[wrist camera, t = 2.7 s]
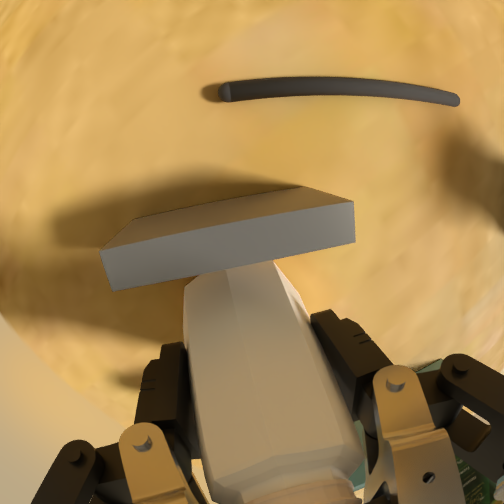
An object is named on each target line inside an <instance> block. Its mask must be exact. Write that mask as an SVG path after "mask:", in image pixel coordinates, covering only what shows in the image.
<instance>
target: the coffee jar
mask: <svg viewBox="0 0 504 504" xmlns="http://www.w3.org/2000/svg"><path fill="white" fill-rule="evenodd" d="M454 455H455V454H454ZM455 459H456V462H457V466H458V470H459V474H460V478H461V483H462V487H463V492H464V497H465V502H466V504H504V503H503V501H502V500H499V501H498V500H495V498H494V492H495V490H496V483H494V482H493V481H491V480H490V479H488V478H487V477H485V476H484V475H483V474H481V473H480V472H478V471H477V470H476V469H474V468H473V467H471V466H470V465H469V464H467V463H466V462H464V461H463V460H462V459H460V458H459V457H458V456H456V455H455Z"/></svg>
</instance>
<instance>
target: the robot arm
mask: <svg viewBox="0 0 504 504" xmlns="http://www.w3.org/2000/svg"><path fill="white" fill-rule="evenodd" d="M310 323H311V325H312V327H313V329H314V331H315V333H316V335H317V337H318V339H319V341H320V343H321V345H322V348H323V350H324V352H325V355H326V357H327V359H328V362H329V364H330V366H331V369H332V371H333V374H334V376H335V378H336V381H337V383H338V386H339V388H340V390H341V393H342V395H343V398H344V400H345V403H346V405H347V407H348V410H349V412H350V415H351V417H352V420H353V422H355V421H358V420H360V422H361V424H362V425H363V429H362V440H363V450H364V454H365V459H364V461H365V476H366V480H365V487H364V504H466V502H465V497H464V492H463V487H462V483H461V478H460V474H459V470H458V466H457V462H456V459H455V455H456V456H458V457H459V458H460V459H462V460H463V461H464V462H466V463H467V464H469V465H470V466H471V467H473V468H474V469H476V470H477V471H478V472H480V473H481V474H483V475H484V476H485V477H487V478H488V479H490V480H491V481H493V482H494V483H496V490H495V492H494V498H495V500H498V501H499V500H502V501H503V503H504V375H502V374H500V373H499V372H497V371H495V370H493V369H491V368H490V367H488V366H486V365H484V364H483V363H481V362H479V361H477V360H475V359H474V358H472V357H470V356H468V355H465V354H452V355H449V356H447V357H446V358H445V359H444V360H443V361H442V363H441V366H440V369H438V370H433V371H428V372H423V373H415V372H414V371H413V370H411V369H410V368H408V367H405V366H402V365H393V363H392V362H391V361H390V360H389V359H388V358H387V356H386V355H385V354H384V353H383V352H382V351H381V349H380V348H379V347H378V346H377V345H376V344H375V343H374V341H373V340H371V338H370V337H369V336H368V334H366V333H365V331H364V330H363V329H362V328H361V327H360V325H359V324H358V323H356V322H354V321H352V320H350V319H348V318H345V319H342V320H340V319H339V318H338V317H337V315H336V314H335V313H334V312H333V311H332V310H331V309H328V310H325V311H321V312H317V313H314V314H311V316H310ZM140 390H141V392H140V393H139V398H138V404H137V409H136V415H135V421H134V425H132V426H130V427H128V428H127V429H126V430H125V431H124V432H123V433H122V434H121V436H120V439H119V442H117V443H115V444H111V445H108V446H104V447H100V448H96V449H95V448H94V447H93V446H92V445H91V444H90V443H88V442H87V441H84V440H73V441H71V442H69V443H67V444H66V445H64V447H63V448H62V449H61V450H60V452H59V454H58V456H57V457H56V459H55V461H54V463H53V464H52V466H51V468H50V469H49V471H48V473H47V475H46V477H45V478H44V480H43V482H42V484H41V486H40V487H39V489H38V491H37V493H36V495H35V497H34V499H33V500H32V502H31V504H209V502H208V500H207V498H206V497H205V495H204V493H203V491H202V489H201V487H200V485H199V483H198V481H197V480H196V477H195V475H194V474H193V472H192V465H191V459H201V455H200V450H199V445H198V439H197V433H196V428H195V421H194V415H193V409H192V402H191V394H190V383H189V372H188V360H187V351H186V348H185V346H184V343H183V342H176V343H170V344H163V345H162V347H161V352H160V358H159V359H155V360H151V361H150V362H149V364H148V365H147V367H146V368H145V369H144V373H143V378H142V383H141V388H140ZM463 405H464V406H465V407H467V408H468V409H470V410H471V411H473V412H474V413H476V414H477V415H479V416H481V417H482V418H484V419H485V420H487V421H488V422H489V423H490V425H487V424H485V423H483V422H482V421H480V420H479V419H477V418H475V417H474V416H473V415H471V414H469V413H468V412H466V411H465V410H463V409H462V407H463ZM454 454H455V455H454ZM91 498H92V499H91ZM90 500H91V501H90ZM89 502H90V503H89Z"/></svg>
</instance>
